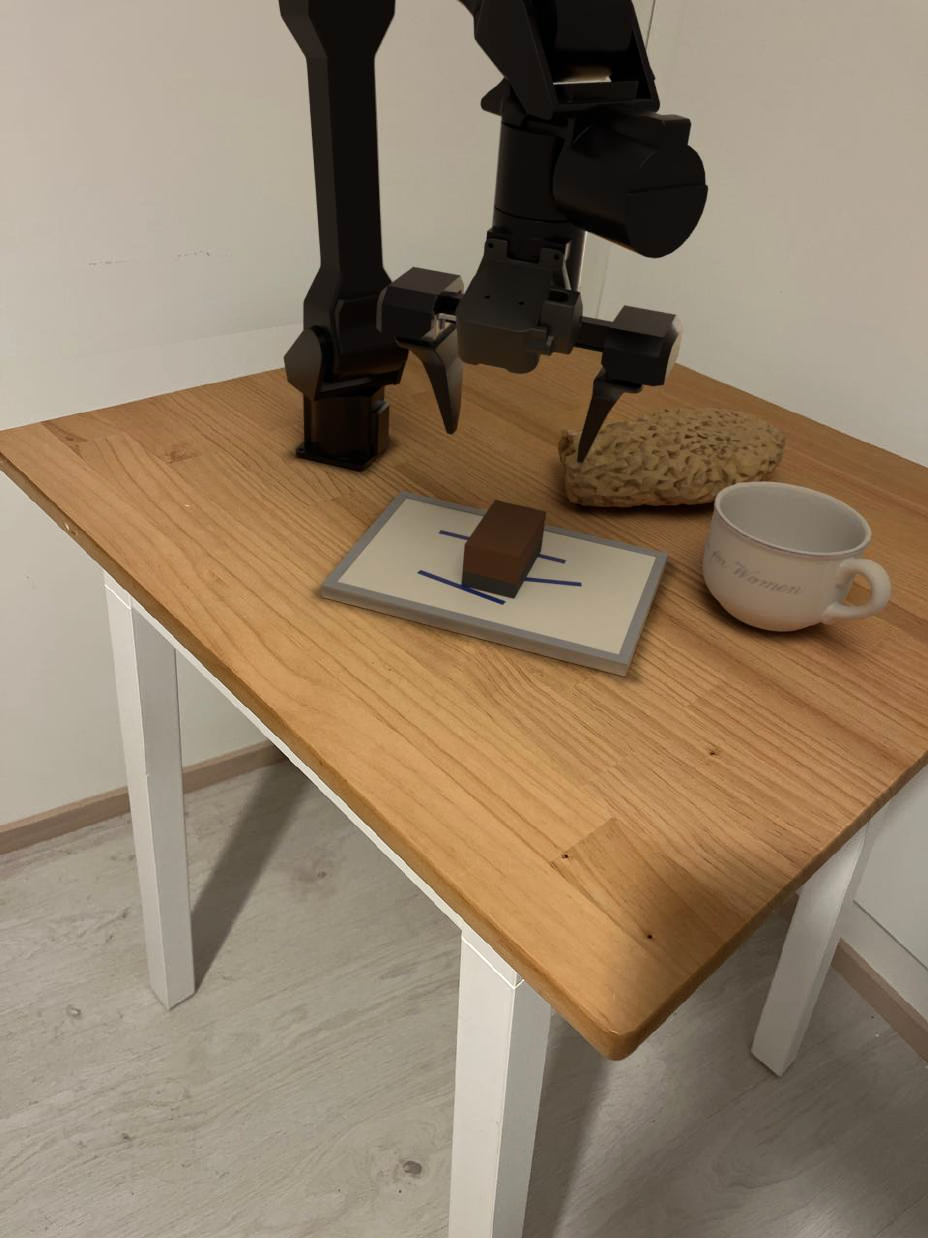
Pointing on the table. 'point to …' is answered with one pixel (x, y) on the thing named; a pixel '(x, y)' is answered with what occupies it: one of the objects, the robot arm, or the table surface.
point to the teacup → (788, 557)
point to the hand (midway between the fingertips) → (515, 446)
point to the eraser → (503, 548)
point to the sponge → (670, 458)
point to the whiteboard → (532, 621)
